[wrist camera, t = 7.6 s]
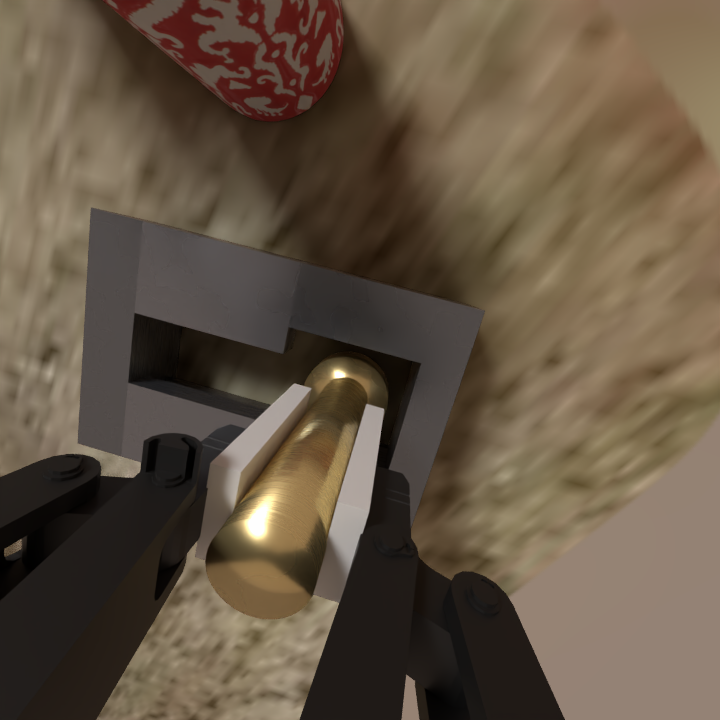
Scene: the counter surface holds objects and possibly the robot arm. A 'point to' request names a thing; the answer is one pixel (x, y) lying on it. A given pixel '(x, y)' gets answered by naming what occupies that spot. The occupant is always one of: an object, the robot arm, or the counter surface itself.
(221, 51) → the mug
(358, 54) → the counter surface
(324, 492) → the gold knobbed peg
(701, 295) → the counter surface
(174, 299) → the keyhole plate
